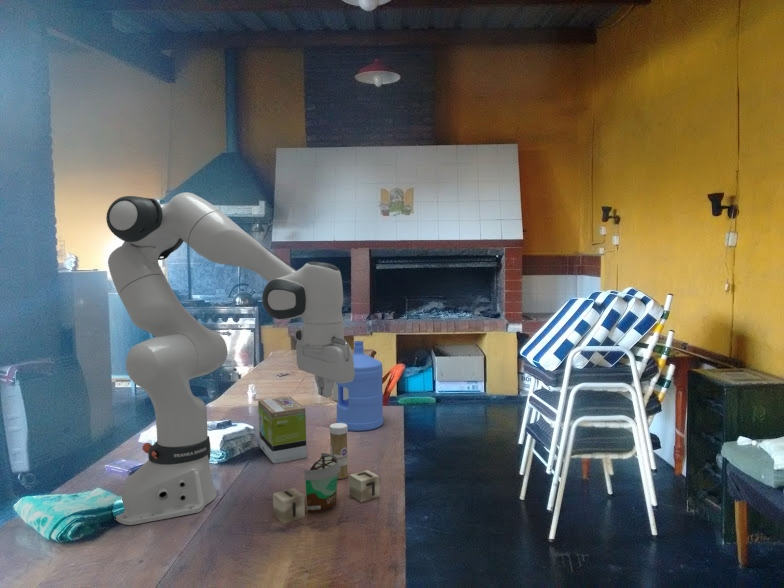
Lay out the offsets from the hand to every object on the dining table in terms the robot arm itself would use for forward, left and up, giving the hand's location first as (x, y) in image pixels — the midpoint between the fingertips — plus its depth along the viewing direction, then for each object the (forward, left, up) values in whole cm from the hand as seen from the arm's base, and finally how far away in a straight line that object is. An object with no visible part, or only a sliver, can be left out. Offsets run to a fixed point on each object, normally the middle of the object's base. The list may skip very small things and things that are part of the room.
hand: (325, 395), depth 130 cm
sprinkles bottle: (+11, +13, -25) cm, 30 cm away
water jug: (+40, +48, -25) cm, 67 cm away
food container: (0, 0, -25) cm, 25 cm away
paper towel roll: (+52, +80, -25) cm, 99 cm away
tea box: (+7, +38, -25) cm, 46 cm away
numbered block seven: (+10, -1, -25) cm, 27 cm away
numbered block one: (-9, 0, -25) cm, 27 cm away
